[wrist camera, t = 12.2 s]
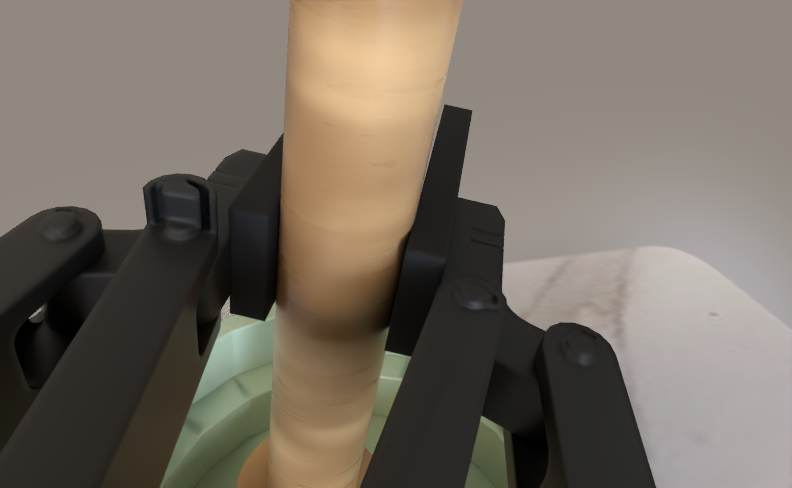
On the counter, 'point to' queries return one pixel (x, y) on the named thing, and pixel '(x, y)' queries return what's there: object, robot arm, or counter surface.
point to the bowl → (251, 407)
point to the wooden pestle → (345, 222)
